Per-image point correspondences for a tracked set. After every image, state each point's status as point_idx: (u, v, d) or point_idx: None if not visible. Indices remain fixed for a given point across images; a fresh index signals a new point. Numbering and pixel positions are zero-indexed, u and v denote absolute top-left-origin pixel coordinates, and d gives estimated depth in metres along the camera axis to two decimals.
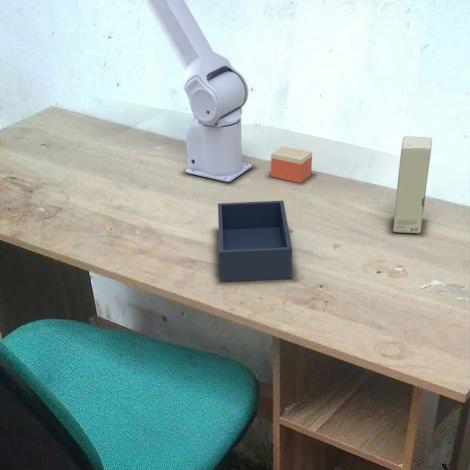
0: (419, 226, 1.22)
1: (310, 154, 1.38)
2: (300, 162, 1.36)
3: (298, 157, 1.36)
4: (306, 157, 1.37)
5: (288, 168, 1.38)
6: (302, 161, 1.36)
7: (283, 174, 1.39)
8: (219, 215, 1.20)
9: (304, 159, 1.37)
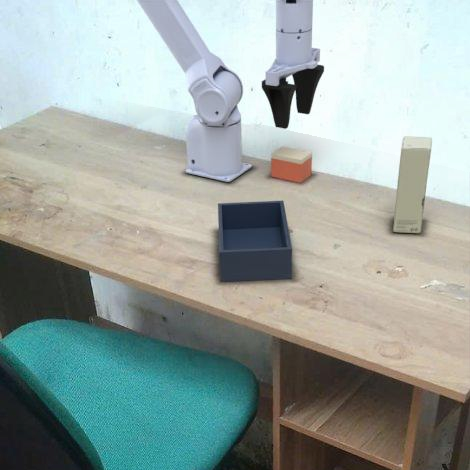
0: (419, 226, 1.22)
1: (310, 154, 1.38)
2: (300, 162, 1.36)
3: (298, 157, 1.36)
4: (306, 157, 1.37)
5: (288, 168, 1.38)
6: (302, 161, 1.36)
7: (283, 174, 1.39)
8: (219, 215, 1.20)
9: (304, 159, 1.37)
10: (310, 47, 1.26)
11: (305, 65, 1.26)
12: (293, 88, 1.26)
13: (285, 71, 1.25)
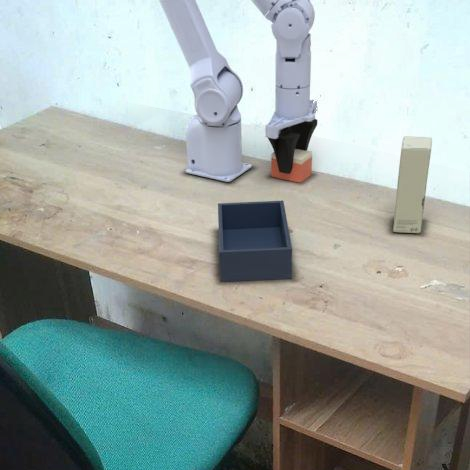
0: (419, 226, 1.22)
1: (310, 154, 1.38)
2: (300, 162, 1.36)
3: (299, 157, 1.36)
4: (306, 157, 1.37)
5: None
6: (302, 161, 1.36)
7: (283, 173, 1.39)
8: (219, 215, 1.20)
9: (304, 159, 1.37)
10: (308, 101, 1.31)
11: (303, 118, 1.32)
12: (296, 137, 1.32)
13: (284, 125, 1.30)
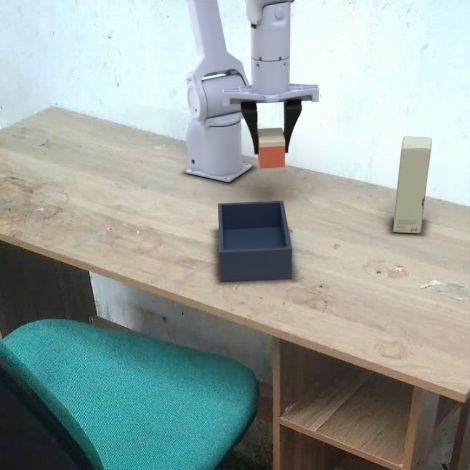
0: (419, 226, 1.22)
1: (280, 142, 1.22)
2: (259, 145, 1.22)
3: (262, 140, 1.22)
4: (271, 143, 1.22)
5: None
6: (262, 145, 1.22)
7: None
8: (219, 215, 1.20)
9: (267, 144, 1.22)
10: (274, 80, 1.16)
11: (263, 96, 1.17)
12: (250, 114, 1.19)
13: (237, 95, 1.19)
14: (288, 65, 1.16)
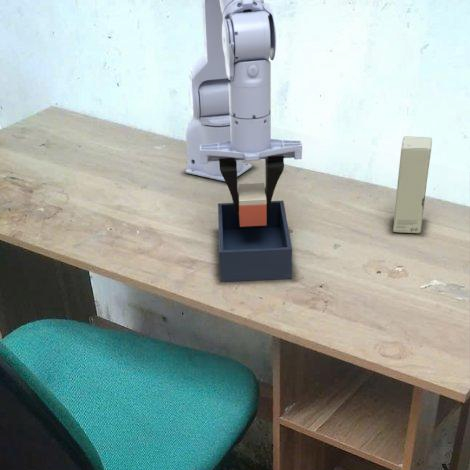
0: (419, 226, 1.22)
1: (261, 200, 1.15)
2: (239, 203, 1.16)
3: (243, 198, 1.16)
4: (252, 201, 1.16)
5: None
6: (242, 203, 1.16)
7: None
8: (219, 215, 1.20)
9: (247, 202, 1.16)
10: (254, 137, 1.10)
11: (242, 154, 1.11)
12: (229, 172, 1.13)
13: (215, 152, 1.12)
14: (269, 122, 1.10)
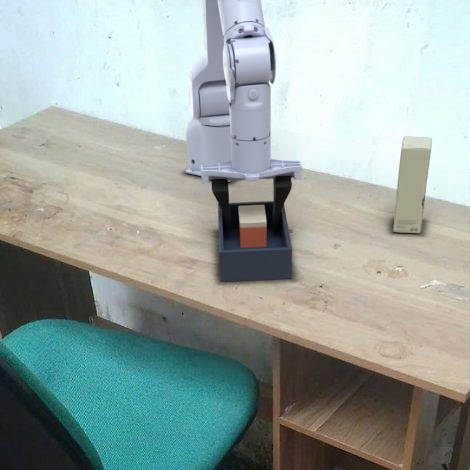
0: (419, 226, 1.22)
1: (261, 222, 1.18)
2: (239, 225, 1.18)
3: (243, 220, 1.18)
4: (252, 223, 1.18)
5: (239, 227, 1.21)
6: (242, 225, 1.18)
7: (239, 232, 1.22)
8: (219, 215, 1.20)
9: (247, 224, 1.18)
10: (254, 159, 1.12)
11: (243, 175, 1.13)
12: (221, 192, 1.15)
13: (216, 173, 1.14)
14: (269, 143, 1.12)
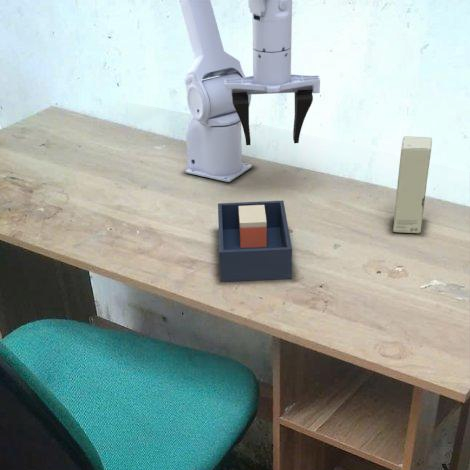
0: (419, 226, 1.22)
1: (261, 222, 1.18)
2: (239, 225, 1.18)
3: (243, 220, 1.18)
4: (252, 223, 1.18)
5: (239, 227, 1.21)
6: (242, 225, 1.18)
7: (239, 232, 1.22)
8: (219, 215, 1.20)
9: (247, 224, 1.18)
10: (276, 70, 1.18)
11: (264, 87, 1.19)
12: (241, 105, 1.21)
13: (239, 86, 1.20)
14: (289, 56, 1.18)
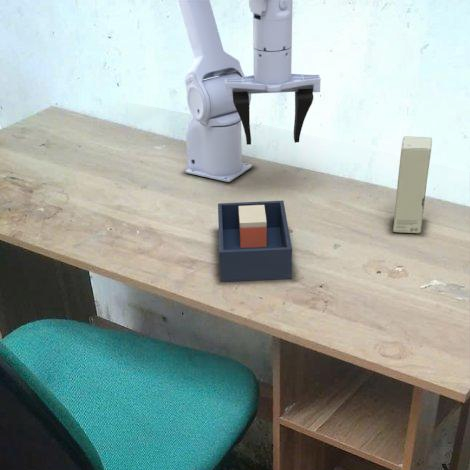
0: (419, 226, 1.22)
1: (261, 222, 1.18)
2: (239, 225, 1.18)
3: (243, 220, 1.18)
4: (252, 223, 1.18)
5: (239, 227, 1.21)
6: (242, 225, 1.18)
7: (239, 232, 1.22)
8: (219, 215, 1.20)
9: (247, 224, 1.18)
10: (276, 70, 1.18)
11: (265, 86, 1.19)
12: (242, 104, 1.21)
13: (240, 85, 1.20)
14: (290, 55, 1.18)
